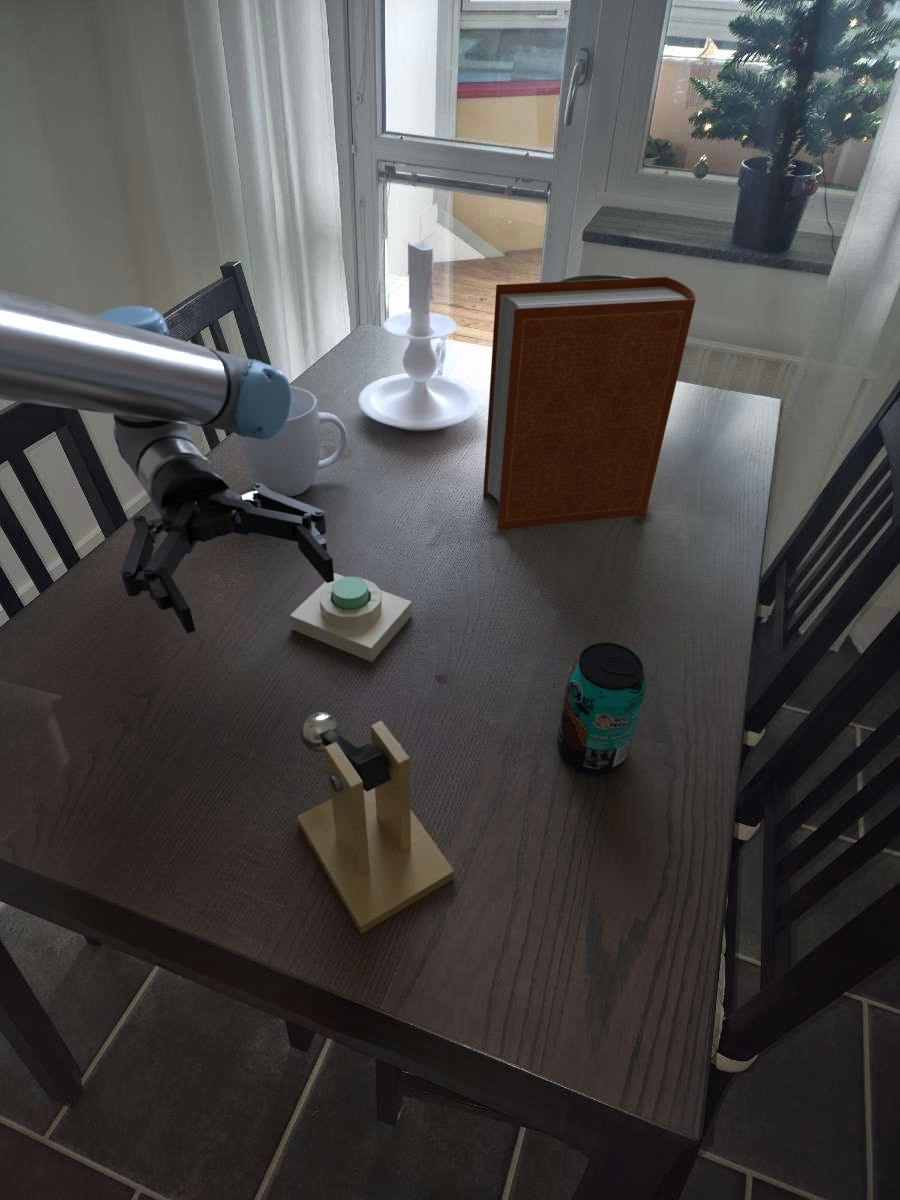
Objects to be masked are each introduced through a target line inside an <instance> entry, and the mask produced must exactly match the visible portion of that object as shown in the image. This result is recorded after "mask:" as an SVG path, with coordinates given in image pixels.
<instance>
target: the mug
mask: <svg viewBox="0 0 900 1200" xmlns="http://www.w3.org/2000/svg"><path fill="white" fill-rule="evenodd" d="M290 387H291V393H292V402H291V405H290V410H289V416H288V419H287V421H286V423H285V425H284V426H283V428H282V429H281V430H280V431H279V433H277V434H276V435H275V436H273V437H271V438H269V439H263V440H261V439H256V438H252V437H242V436H239V441H240V444H241V445H240V446H241V449H242V454H243V456H244V459H245V462H246V464H247V466H248V469H249V471H250V473H251V475H252V477H253V479H254V480H255V481H256V483H262V484H263V485H265V486H266V487H267V488H268V489H269V490H271V491H273V492H276V493H278V494H281V495H284V496H286V497H289V498H291V497H294V496H295V497H296V496H299V495H301V494H303V493H305V492H306V491H307V490H308V489H309V488H310V487H311V485H312V484H313V482H314V479H315V477H316V475H317V471H320V470H323V469H325V468H328V467H330V466H333V465H334V464H336V463H337V462H338V461H340V460H341V458H342V457H344V456H343V455H344V454H345V453H346V450H347V446H348V434H347V430H346V427H345V424H344V423H343V422H342V420H341V419H340V418H339V417H338V416H337V415H335V414H333V413H329V412H325V411H324V412H323V411H321V412H320V411H319V409H318V401H317V397H316V396H315V395H314V394H313V393H312V392H310V391H309V390H307V389H304V388H301V387H296V386H290ZM323 423H332V424H334V425H335V426H336V427H337V429H338V431H339V435H340V439H339V444H338V447H337V449H336V450H335V452H334V453H332V454H331V455H330V456H329V457H326V458H325V459H321V460H320V456H321V455H320V454H321V427H320V424H323Z"/></svg>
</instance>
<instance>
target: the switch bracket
mask: <svg viewBox="0 0 900 1200" xmlns="http://www.w3.org/2000/svg"><path fill="white" fill-rule="evenodd" d="M370 736H371V745H373V746H374V747H376V748H377V749H379V750H380V751H382V752H383V753H384V756H385V760H386V763H387V766H388V769H389V772H390V776H391V780H389V781H387V782H386V783H384V784H382V785H380V786H378V787H376V788H374V789H372V790H370V791H368V792H366V791H365V790H364V789H363V781H362V779H361V778H360V776H359V775H358V774H357V772H356V771H355V769H354V768H353V766H352V765H351V763H350V762H349V760H348V759H347V757H346V756H345V754H344V753H343V751H342V750H341V748H340V747H339V745H338V744H337V742H334V743H332V744H330V745H328V746H326V747H325V760H326V768H327V776H328V783H329V784H328V785H329V791H330V792H329V793H330V799H328V800H326V801H324V802H322V803H320V804H318V805H316V806H314V807H312V808H310V809H308V810H306V811H304V812H302V813H299V814H298V815H297V816H296V819H297V825H298V827H299V828H300V830H301V832H302V833H303V836H304V837H305V839H306V841H307V843H308V844H309V846H310V848H311V849H312V851H313V853H314V855H315V857H316V858H317V860H318V861H319V863H320V865H321V867H322V868H323V870H324V873H325V874H326V876H327V877H328V878H329V881H330V883H331V884H332V886H333V888H334V890H335V891H336V893H337V895H338V896H339V898H340V900H341V902H342V903H343V905H344V908H345V909H346V911H347V912H348V914H349V916H350V918H351V919H352V921H353V923H354V924H355V926H356V928H357V930H358V931H359V933H360V935H362V934H364V933H366V932H367V931H369V930H371V929H372V928H374V927H375V926H377V925H379V924H381V923H383V922H384V921H385V920H387V919H389V918H391V917H393V916H394V915H396V914H398V913H399V912H401V911H402V910H405V909H406V908H407V907H409V906H411V905H412V904H415V903H416V902H418V901H419V900H421V899H423V898H425V897H426V896H427V895H430V893H432V892H435V891H436V890H437V889H439V888H441V887H442V886H444V885H446V884H447V883H449V882H451V881H453V880H454V879H455V870H454V868H453V866H452V865H451V864H450V863H449V861H448V860H447V858H446V857H445V856H444V854H443V852H442V851H441V850H440V848H439V846H437V844H436V843H435V841H434V840H433V839H432V837H431V835H430V834H429V833H428V831H427V830H426V829H425V827H424V826H423V825H422V822H420V820H419V818H417V816H416V814H415V813H414V811H413V810H412V808H411V759H410V756H409V755H408V754H407V753H406V751H405V749H404V747H403V745H402V744H401V743H400V742H398V741H397V739H396V738H395V736H394V735H393V733H391V731H390V730H389V728H388V727H387V726H386V725H385V723H384V722H383V720H379V721H378V722H375V723H373V724H371V725H370Z"/></svg>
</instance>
